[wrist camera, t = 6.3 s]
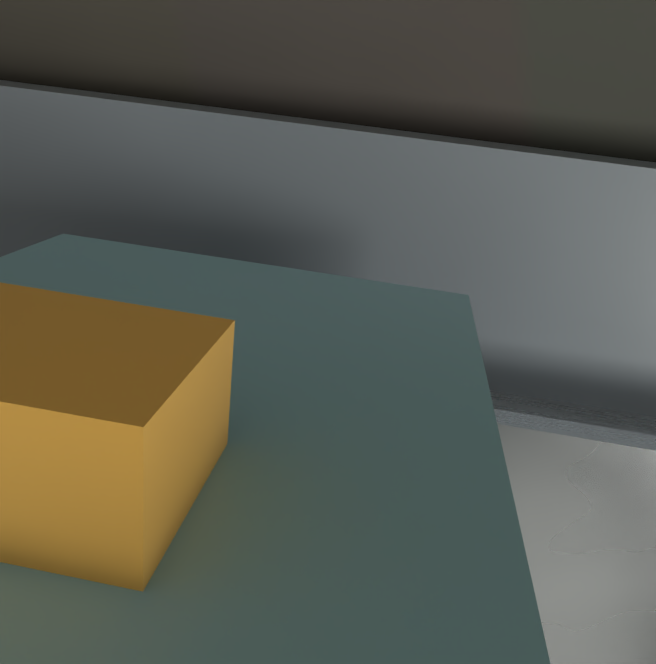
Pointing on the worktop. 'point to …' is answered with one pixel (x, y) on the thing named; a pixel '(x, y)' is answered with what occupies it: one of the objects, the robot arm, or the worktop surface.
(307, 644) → the block
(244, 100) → the worktop surface
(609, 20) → the worktop surface
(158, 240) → the plate
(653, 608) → the din rail
